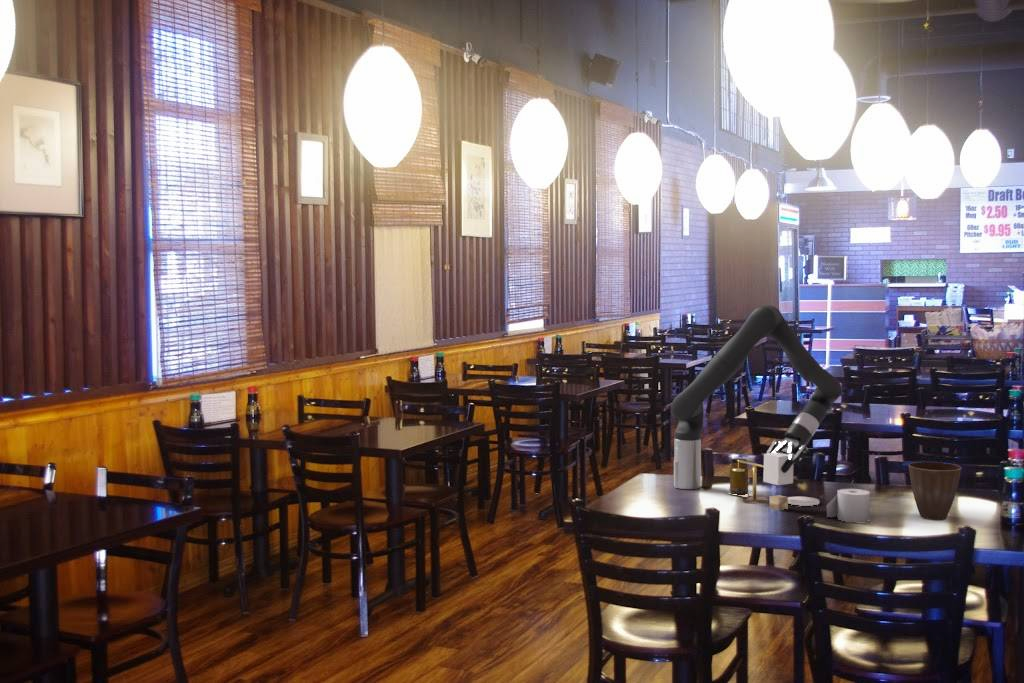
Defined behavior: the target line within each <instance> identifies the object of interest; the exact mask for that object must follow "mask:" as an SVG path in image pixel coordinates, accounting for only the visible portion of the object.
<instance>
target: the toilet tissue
mask: <svg viewBox="0 0 1024 683" xmlns="http://www.w3.org/2000/svg"><path fill="white" fill-rule="evenodd" d="M836 492H837V494H836V495H835V496H834V497H833V498H832V499H831V500H830V501H829V502H828V503H827V504H826V518H827V519H828V517H830V518H836V516H837V518H838V519H837V518H836V519H837V520H838V521H839V520H841V521H840V522H843V521H845V522H844V523H849V522H866V521H868V520H870V519H871V515H870V514H871V491H869V490H865V489H859V488H841V489H837V491H836ZM870 521H871V520H870ZM866 523H867V522H866Z"/></svg>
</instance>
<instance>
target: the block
mask: <svg viewBox="0 0 1024 683" xmlns="http://www.w3.org/2000/svg"><path fill="white" fill-rule="evenodd" d="M788 497H789V496H785V495H784V496H783V495H779V494H777V495H769V509H770V508H771V509H770V510H774V509H775V510H774V511H777V510H780V511H785V510H784V509H787V510H788V509H789V505H788Z"/></svg>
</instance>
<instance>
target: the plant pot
mask: <svg viewBox="0 0 1024 683" xmlns="http://www.w3.org/2000/svg"><path fill="white" fill-rule="evenodd" d="M908 471H909V472H908V473H909V479H910V485H911V489H912V493H913V498H914V502H915V505H916V508H917V510H918V513H919V516H920V517H921V518H923V519H926V520H933V521H944V520H947V517H948V515H949V513H950V511H951V508H952V505H953V504H954V500H955V497H956V494H957V491H958V490H957V489H958V487H959V482H960V477H961V471H962V466H960V465H957V464H955V463H949V462H941V461H940V462H939V461H914V462H910V463H908Z"/></svg>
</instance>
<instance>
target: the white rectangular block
mask: <svg viewBox="0 0 1024 683" xmlns="http://www.w3.org/2000/svg"><path fill="white" fill-rule="evenodd" d="M779 452H780V453H772V452H771V453H767V452H766V453H764V454H763V465H764V467H763V478H762V482H763V483H768V484H770V485H775V486H782V485H783V486H784V485H789V484H794V464H793V465H792V466H791V467H790V468H789V470H788V471H787V472H786V473H783V472H782V470H781V467H782V466H783V464H784V463H785V461H786V460H788V457H789V456H788V454H785V453H782V452H781V451H779ZM792 458H793V457H792Z"/></svg>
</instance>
